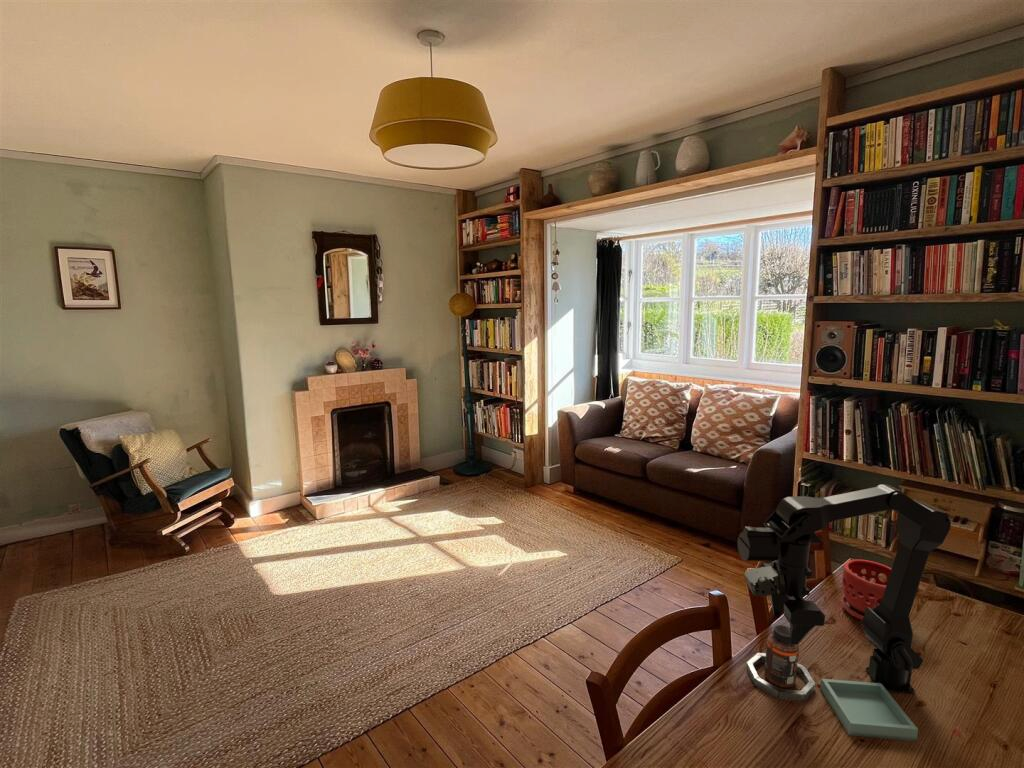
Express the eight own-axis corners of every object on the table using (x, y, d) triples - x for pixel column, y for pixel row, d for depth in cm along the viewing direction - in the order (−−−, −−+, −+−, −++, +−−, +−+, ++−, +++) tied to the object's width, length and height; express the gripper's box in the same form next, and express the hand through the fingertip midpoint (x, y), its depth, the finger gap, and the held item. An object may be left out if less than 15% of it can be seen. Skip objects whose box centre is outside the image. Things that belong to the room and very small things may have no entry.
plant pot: (837, 618, 134) (842, 574, 132) (840, 594, 144) (845, 553, 142) (900, 637, 126) (907, 591, 124) (899, 611, 137) (905, 568, 135)
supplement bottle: (799, 691, 109) (805, 641, 107) (768, 686, 110) (773, 637, 108) (790, 671, 114) (795, 623, 112) (760, 667, 115) (765, 620, 114)
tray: (879, 694, 108) (881, 683, 108) (916, 741, 97) (918, 729, 96) (820, 689, 109) (821, 678, 109) (849, 735, 98) (850, 723, 97)
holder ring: (797, 661, 117) (797, 655, 117) (822, 702, 106) (823, 696, 105) (741, 657, 119) (741, 651, 118) (760, 697, 107) (760, 690, 106)
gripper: (736, 537, 118) (731, 601, 120) (767, 582, 99) (760, 656, 102) (789, 540, 116) (782, 604, 119) (830, 585, 98) (821, 661, 101)
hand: (785, 629), depth 110 cm, fingers open, 9 cm apart
